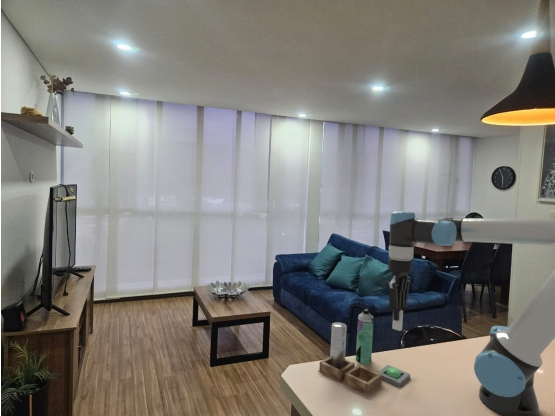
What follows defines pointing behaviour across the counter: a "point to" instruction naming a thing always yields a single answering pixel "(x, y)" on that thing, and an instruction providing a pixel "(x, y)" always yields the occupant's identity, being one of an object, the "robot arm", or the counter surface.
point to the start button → (393, 372)
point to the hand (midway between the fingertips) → (397, 329)
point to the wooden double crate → (352, 376)
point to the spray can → (364, 337)
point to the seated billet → (338, 345)
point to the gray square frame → (397, 382)
